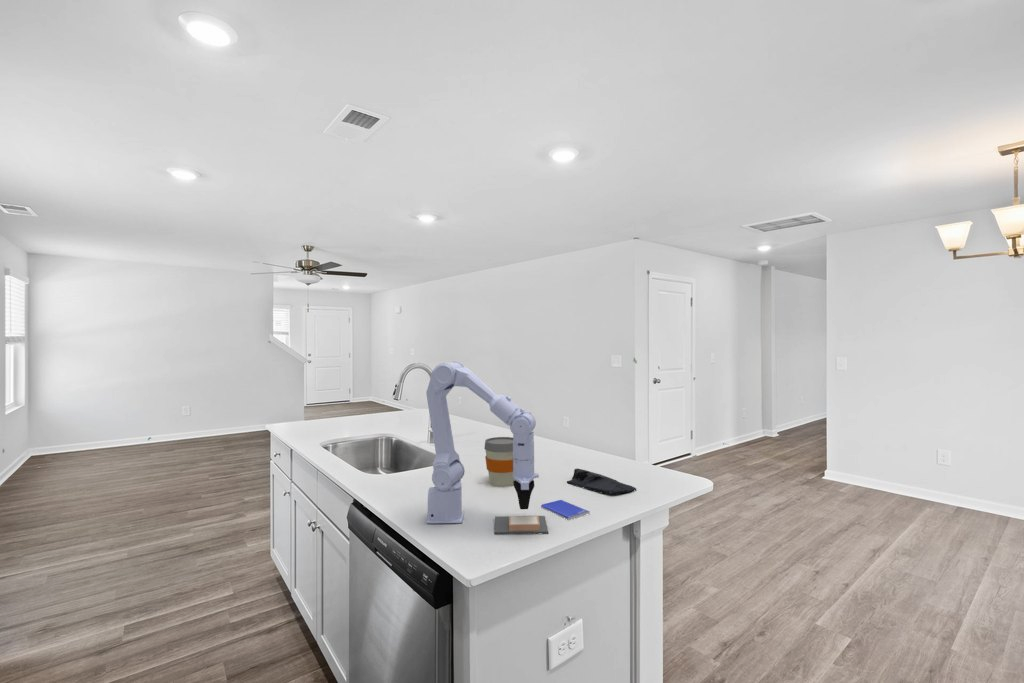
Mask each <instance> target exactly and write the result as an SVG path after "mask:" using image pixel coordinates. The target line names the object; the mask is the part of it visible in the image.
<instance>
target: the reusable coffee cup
mask: <svg viewBox="0 0 1024 683" xmlns="http://www.w3.org/2000/svg"><path fill="white" fill-rule="evenodd" d="M484 441H485V442H484V450H485V456H484V458H485V464H486V470H487V471H488V479H489V485H491V486H493V487H498V488H505V487H512V486H514V484H513V481H515V479H513V477H512V475H513V436H512V437H509V436H498V437H489V438H486V439H485V440H484Z"/></svg>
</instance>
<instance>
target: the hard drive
mask: <svg viewBox="0 0 1024 683" xmlns="http://www.w3.org/2000/svg"><path fill="white" fill-rule="evenodd" d="M540 507H541V509H543V510H545V511H547V512H549V511H550V512H549V513H551V512H552V514H553V513H554V514H553V515H555V514H556V515H555V516H557V515H558V517H559V518H561V519H564V518H565V519H564V520H566V519H567V521H571V519H572V520H574V518H575V519H578V517H579V518H581V517H580V516H582V517H585V516H584V515H586V514H589V515H591V514H590V513H591V512H590V510H587V509H584V508H582V507H581V506H577V505H575V504H572V503H570V502H568V501H565V500H563V499H558V500H555V501H550V502H547V503H543V504H541V505H540ZM586 516H587V515H586Z"/></svg>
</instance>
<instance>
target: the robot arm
mask: <svg viewBox="0 0 1024 683" xmlns="http://www.w3.org/2000/svg"><path fill="white" fill-rule="evenodd" d="M454 387H461V388H467V389H468V390H470V391H471V392H472V393H474V394H475V395H477V397H479V398H480V399H482V400H483V401H485V402H486V403H487V404H488V405H489V411H490V412H491V413H492V414H494V415H495V416H496V417H497V418H498V419H500V421H502V422H503V423H505V425H507V426H509V429H510V430H509V431H510V432H511V434H512V438H513V475H512V477H513V479H515V481H513V484H514V485H513V488H514V489H515V492H516V495H517V500H518V506H519V509H520V510H529V506H530V501H531V496H532V493H533V490H534V488H535V481H534V479H536V478H539V476H540V475H539V473H537V472H536V473H535V441H534V440H535V438H534V429H535V427H536V424H537V423H536V419H535V417H534V415H532V413H531V412H528V411H525V408H523V407H520V406H518V405H517V404H516V403H515V402H513V401H512V397H511V396H509V395H505V394H497V393H495V392H494V391H493V390H492V389H491V388H490V387H489V386H488V385H486V384H485V383H484V382H483V381H482V380H481V379H480V378H479V377H478V376H477V375H476V374H475V373H473V371H471V369H470V368H468V367H466V366H465V365H464V364H462V363H461V362H460V361H451V362H447V363H446V362H442V363H439V364H438V365H436V366H435V367H434V368H433V369H432V370H431V372H430V380H429V382H428V386H427V388H426V393H425V394H426V400H427V406H428V407H427V408H428V413H429V418H430V426H431V431H432V436H433V438H432V439H433V444H434V449H435V458H434V459H433V463H432V468H433V471H432V475H431V481H432V484H433V485H434V486H430V487H428V492H427V522H426V523H427V524H462V523H463V520H464V515H465V511H463V509H462V508H463V507H462V505H463V503H462V502H463V501H462V498H463V496H462V494H463V493H462V491H463V490H462V487H463V486H462V479H463V477H464V475H465V467H464V465H463V463H462V461H461V458H460V455H459V453H457V451H456V449H455V442H454V438H453V437H454V435H453V431H452V425H451V419H450V413H449V408H448V406H449V405H448V402H447V396H448V395H449V393H450V392H451V391H452V390H453V388H454Z"/></svg>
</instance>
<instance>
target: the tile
mask: <svg viewBox="0 0 1024 683" xmlns="http://www.w3.org/2000/svg"><path fill="white" fill-rule="evenodd" d="M508 516H509V531H540V523H539V518H538V516H539V515H523V516H522V515H514V516H513V515H512V516H511V515H508Z"/></svg>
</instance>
